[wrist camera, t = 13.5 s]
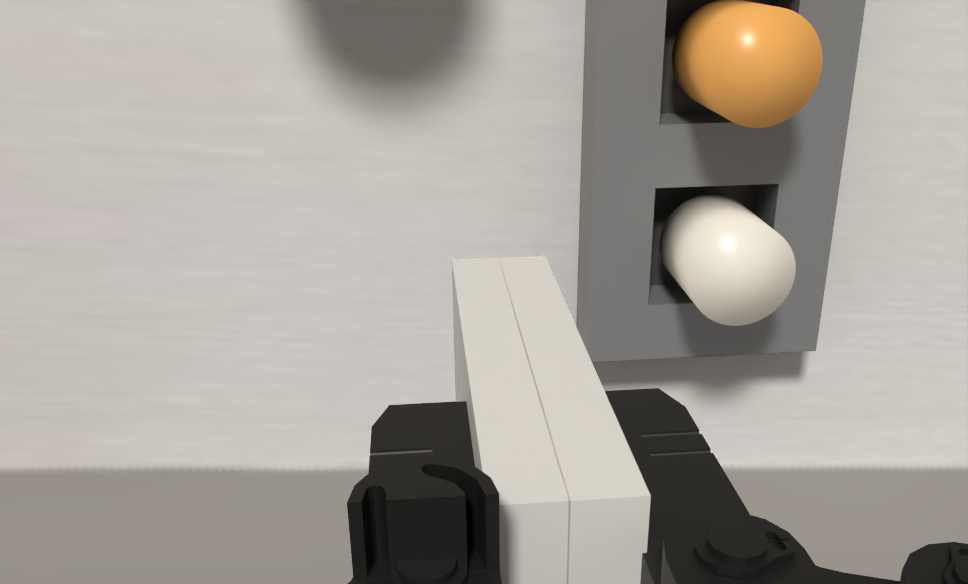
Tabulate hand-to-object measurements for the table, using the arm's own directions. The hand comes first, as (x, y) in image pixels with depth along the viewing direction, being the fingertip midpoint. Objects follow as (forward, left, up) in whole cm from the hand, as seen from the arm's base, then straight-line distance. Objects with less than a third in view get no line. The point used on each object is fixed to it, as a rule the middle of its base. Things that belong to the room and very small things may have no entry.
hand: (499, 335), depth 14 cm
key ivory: (+13, -8, -27) cm, 31 cm away
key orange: (+13, +1, -27) cm, 30 cm away
